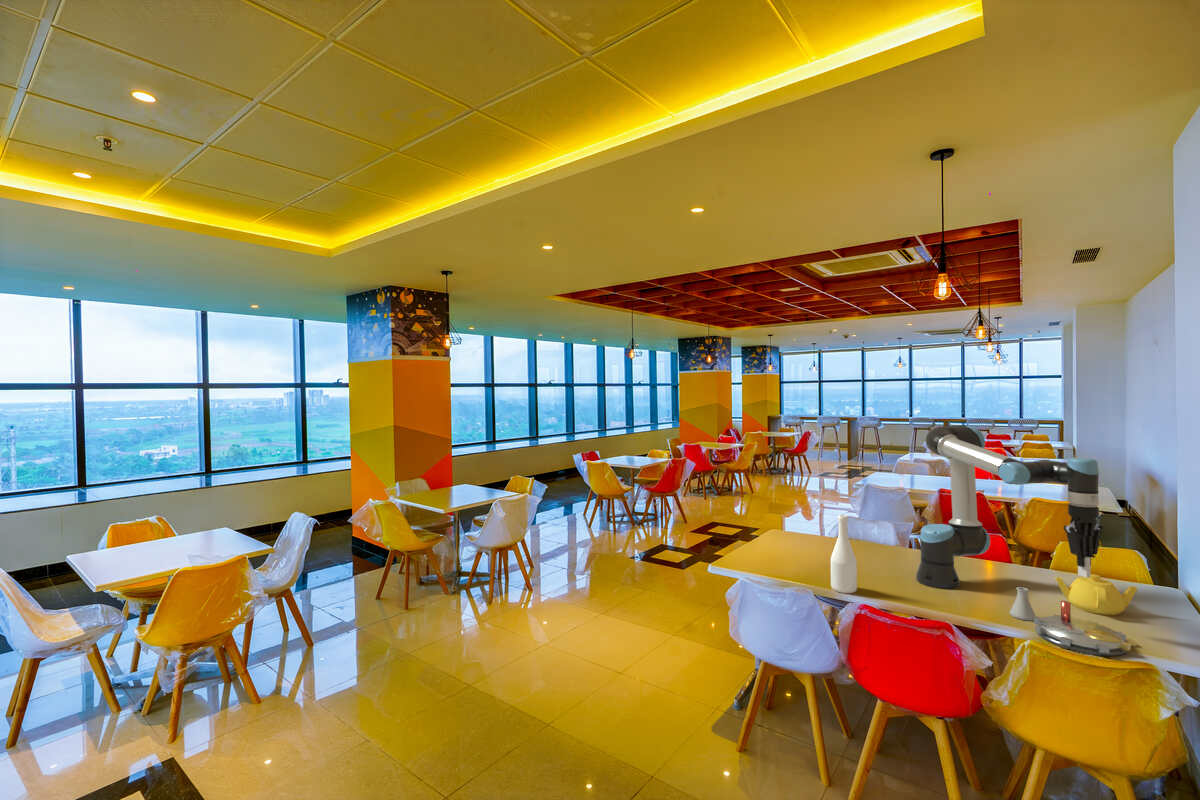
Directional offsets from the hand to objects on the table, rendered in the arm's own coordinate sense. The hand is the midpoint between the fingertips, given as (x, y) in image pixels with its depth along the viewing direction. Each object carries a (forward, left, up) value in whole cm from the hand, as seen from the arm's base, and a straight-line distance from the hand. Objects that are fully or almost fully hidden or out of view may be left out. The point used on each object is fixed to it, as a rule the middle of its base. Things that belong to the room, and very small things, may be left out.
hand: (1084, 575), depth 173 cm
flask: (-15, +6, -18) cm, 24 cm away
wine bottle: (-70, +21, -18) cm, 75 cm away
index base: (-5, -10, -18) cm, 21 cm away
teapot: (+14, +20, -18) cm, 31 cm away
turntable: (-7, -10, -16) cm, 20 cm away
